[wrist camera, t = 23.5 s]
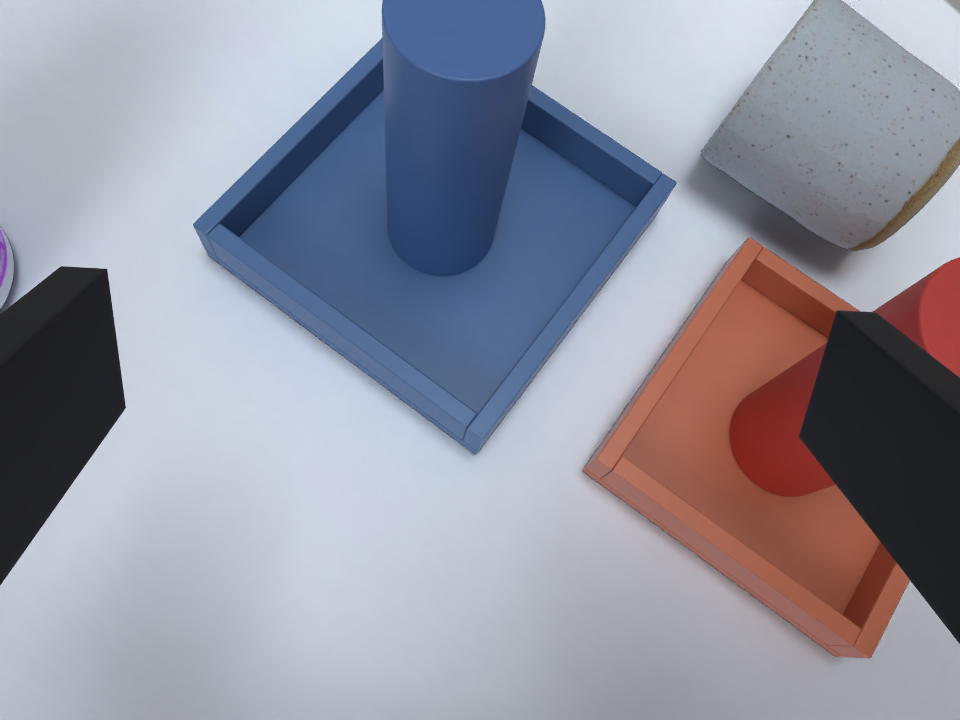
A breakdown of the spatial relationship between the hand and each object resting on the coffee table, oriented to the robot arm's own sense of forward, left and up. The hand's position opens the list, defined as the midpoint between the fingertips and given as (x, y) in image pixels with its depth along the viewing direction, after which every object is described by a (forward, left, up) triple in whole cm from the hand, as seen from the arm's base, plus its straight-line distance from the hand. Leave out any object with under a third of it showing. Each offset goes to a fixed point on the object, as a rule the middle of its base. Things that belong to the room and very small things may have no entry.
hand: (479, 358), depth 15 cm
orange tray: (-10, -10, -16) cm, 21 cm away
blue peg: (+6, -9, -15) cm, 19 cm away
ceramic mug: (-4, -22, -16) cm, 28 cm away
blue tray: (+6, -9, -16) cm, 19 cm away
